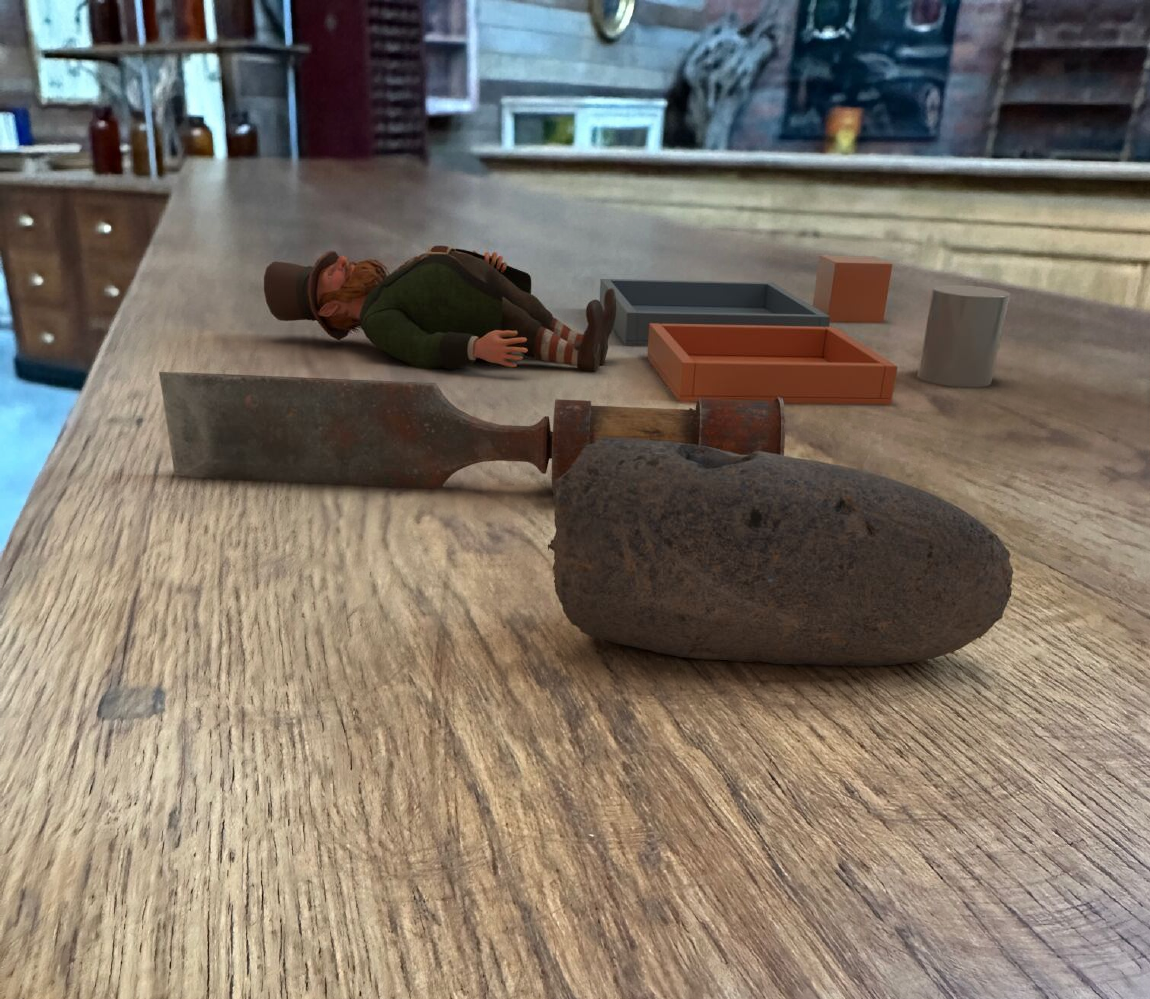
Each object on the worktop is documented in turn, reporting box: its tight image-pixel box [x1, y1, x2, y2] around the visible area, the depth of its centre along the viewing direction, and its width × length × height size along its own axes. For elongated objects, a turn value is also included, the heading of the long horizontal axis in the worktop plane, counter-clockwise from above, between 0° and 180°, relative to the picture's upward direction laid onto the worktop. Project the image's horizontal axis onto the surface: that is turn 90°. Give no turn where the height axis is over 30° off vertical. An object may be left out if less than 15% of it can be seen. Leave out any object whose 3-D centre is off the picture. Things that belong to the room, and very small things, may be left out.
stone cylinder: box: [916, 284, 1011, 388], centre depth 77 cm, size 5×5×6 cm
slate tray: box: [599, 278, 831, 347], centre depth 93 cm, size 16×18×3 cm
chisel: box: [158, 371, 786, 490], centre depth 52 cm, size 28×5×5 cm, turn 88°
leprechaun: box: [263, 245, 616, 373], centre depth 79 cm, size 11×10×25 cm
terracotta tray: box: [646, 323, 898, 405], centre depth 76 cm, size 14×14×3 cm
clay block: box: [812, 254, 893, 324], centre depth 99 cm, size 5×5×5 cm
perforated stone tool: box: [547, 437, 1014, 667], centre depth 37 cm, size 15×5×7 cm, turn 81°
